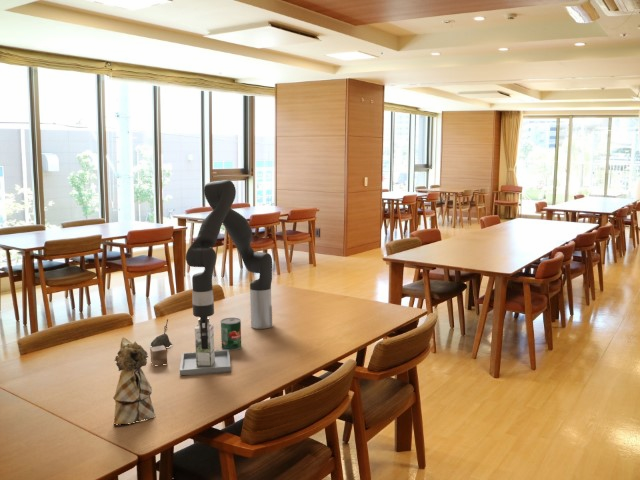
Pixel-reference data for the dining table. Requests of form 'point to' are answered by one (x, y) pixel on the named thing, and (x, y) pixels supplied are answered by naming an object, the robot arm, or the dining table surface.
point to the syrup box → (205, 355)
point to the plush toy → (132, 385)
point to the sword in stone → (161, 339)
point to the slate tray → (218, 366)
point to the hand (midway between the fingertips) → (204, 345)
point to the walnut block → (158, 355)
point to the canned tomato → (231, 333)
